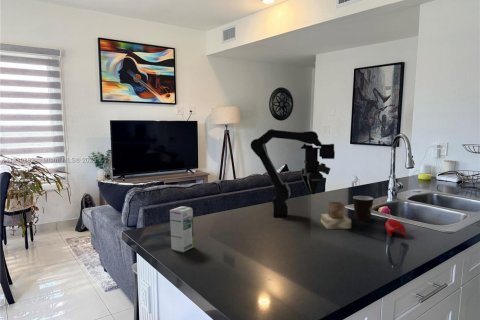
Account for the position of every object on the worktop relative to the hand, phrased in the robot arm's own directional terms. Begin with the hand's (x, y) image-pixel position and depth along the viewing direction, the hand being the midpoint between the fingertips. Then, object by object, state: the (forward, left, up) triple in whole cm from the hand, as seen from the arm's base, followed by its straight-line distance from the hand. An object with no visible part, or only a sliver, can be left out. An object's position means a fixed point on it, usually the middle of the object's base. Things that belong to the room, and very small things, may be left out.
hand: (310, 192), depth 151 cm
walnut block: (+8, -12, -8) cm, 17 cm away
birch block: (+8, -12, -12) cm, 19 cm away
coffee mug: (+24, -4, -12) cm, 27 cm away
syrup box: (-54, -36, -12) cm, 66 cm away
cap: (+27, -26, -12) cm, 39 cm away
